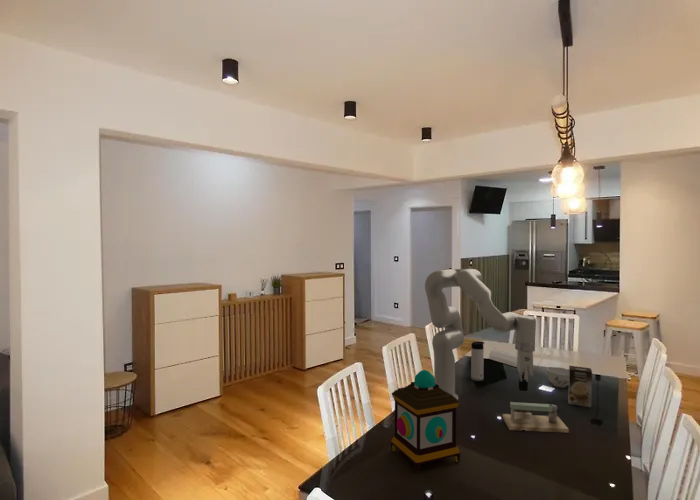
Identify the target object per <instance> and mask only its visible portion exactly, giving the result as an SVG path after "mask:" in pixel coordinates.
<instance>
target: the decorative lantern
mask: <svg viewBox="0 0 700 500" xmlns="http://www.w3.org/2000/svg"><path fill="white" fill-rule="evenodd" d="M391 395H392V398H393V400H394V434H393V437H392V439H391V440H390V450H391V451H392V452H395V451H396V449H397V450H399V451H400V452H401V453H402V454H403V455H404V456H405V457H406V458H407V459H409V461H411V462H412V463H413V465H414V472H415V473H416V472H418V473H419V472H420V469H421V465H424V464H428V463H432V462H436V461H440V460H444V459H448V458H452V457H454V462H455V461H456V462H458V463H460V461H461V452H460V450H459V447H458V446H457V408H458V407H459V404H460V401H459V399H458V400H457V399H456V398H455V397H453V395H451V394H449V393H448V392H446V391H444V390H442V389H441V388H439V385H437V384H435V378H434V375H433V374H432V373H431V372H430V371H429V370H427V369H422V370H420V371H419V372H418V373H416V374H415V376H414V381H410V384H408V385H407V386H403V387H398V388H397V389H395V390H394V391H392V392H391ZM456 462H455V463H456Z"/></svg>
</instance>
